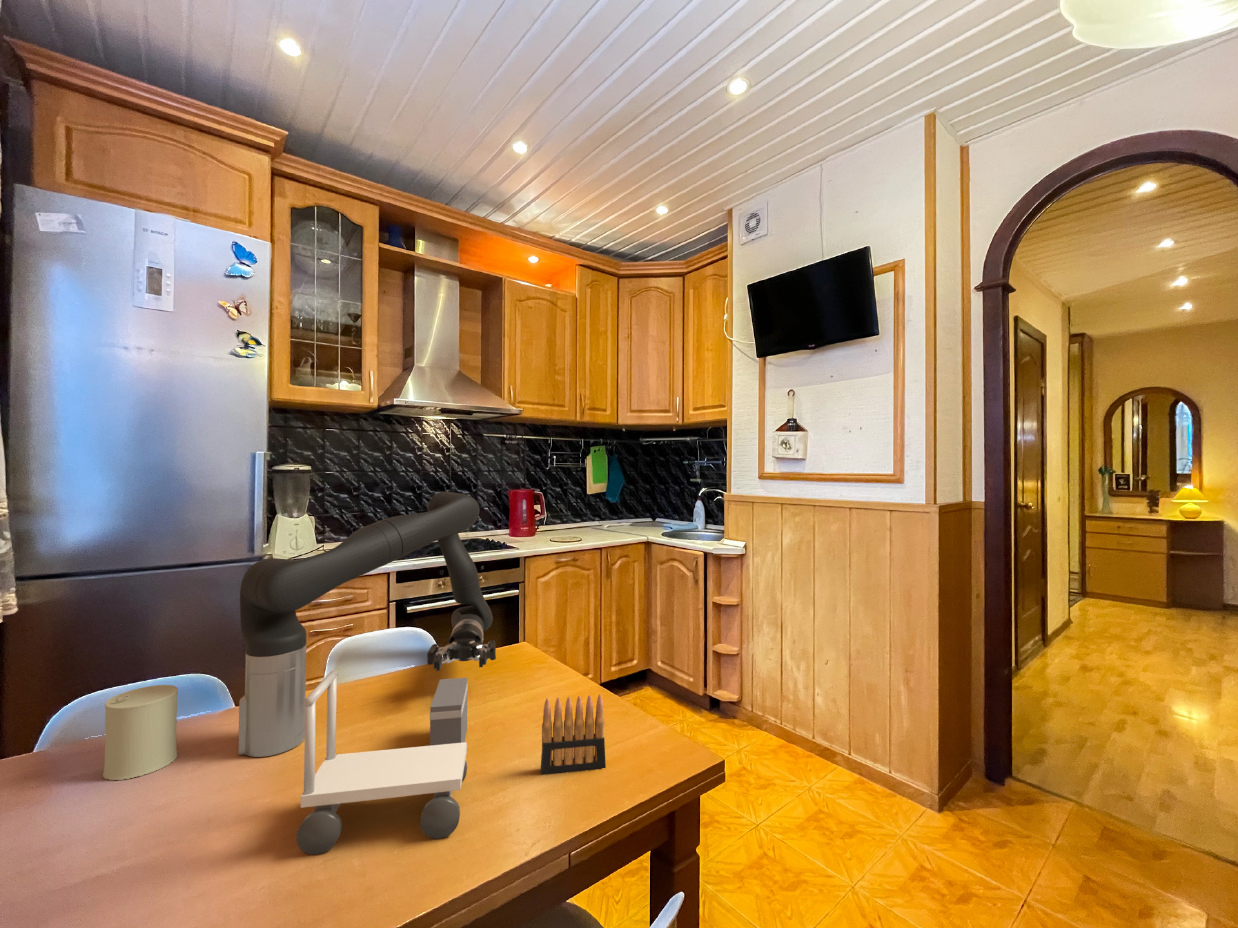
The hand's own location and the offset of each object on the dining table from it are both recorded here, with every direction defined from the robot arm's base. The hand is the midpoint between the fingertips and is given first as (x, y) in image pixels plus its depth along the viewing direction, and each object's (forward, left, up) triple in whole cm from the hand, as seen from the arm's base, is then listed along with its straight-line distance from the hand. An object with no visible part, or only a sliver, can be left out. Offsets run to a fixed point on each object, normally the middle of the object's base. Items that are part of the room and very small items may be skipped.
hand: (459, 664), depth 108 cm
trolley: (-6, -32, -10) cm, 34 cm away
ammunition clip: (+21, -25, -10) cm, 34 cm away
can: (-50, -10, -10) cm, 52 cm away
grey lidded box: (0, -14, -10) cm, 17 cm away
